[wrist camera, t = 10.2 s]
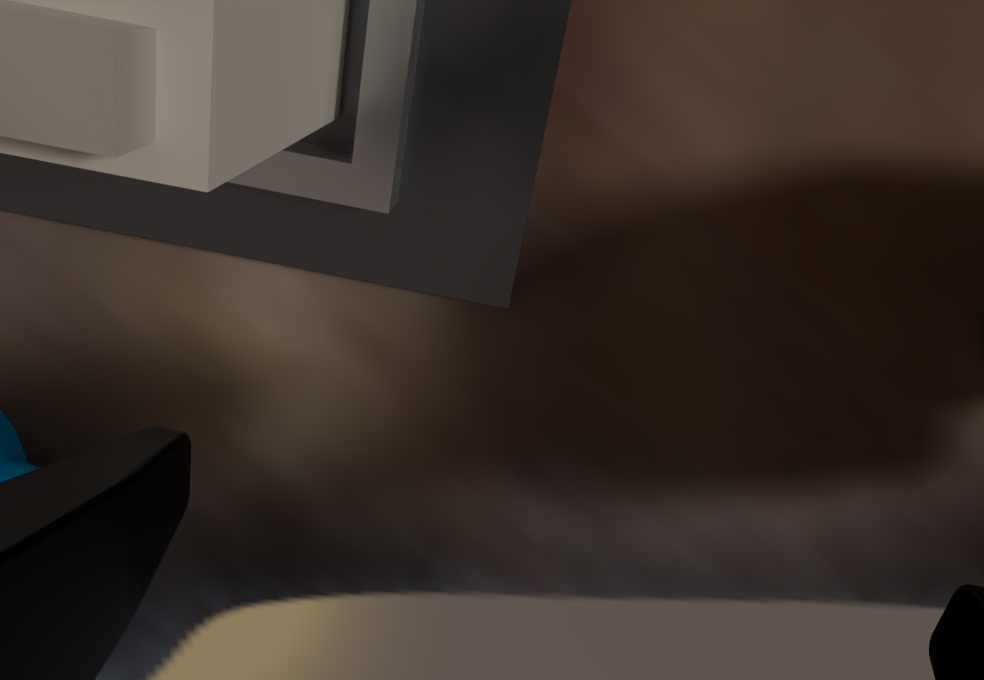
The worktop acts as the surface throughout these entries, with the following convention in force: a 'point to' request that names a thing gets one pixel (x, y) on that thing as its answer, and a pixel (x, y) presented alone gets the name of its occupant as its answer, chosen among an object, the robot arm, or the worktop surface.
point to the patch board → (369, 159)
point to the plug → (167, 83)
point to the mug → (11, 452)
